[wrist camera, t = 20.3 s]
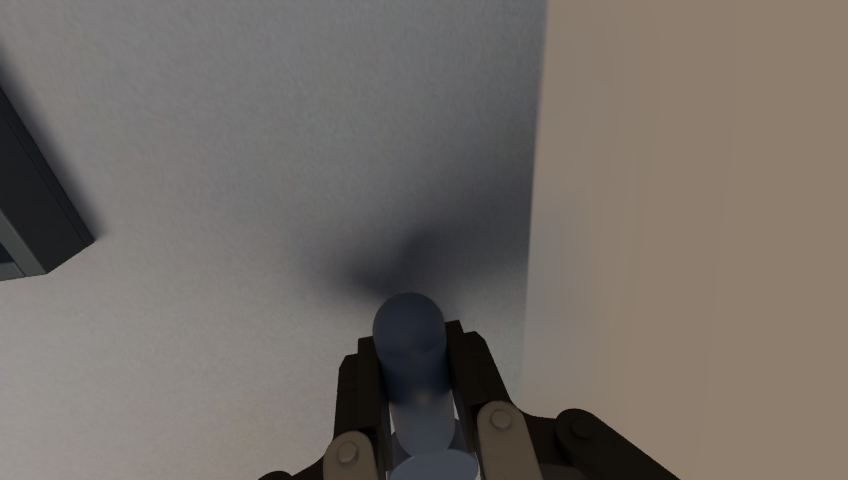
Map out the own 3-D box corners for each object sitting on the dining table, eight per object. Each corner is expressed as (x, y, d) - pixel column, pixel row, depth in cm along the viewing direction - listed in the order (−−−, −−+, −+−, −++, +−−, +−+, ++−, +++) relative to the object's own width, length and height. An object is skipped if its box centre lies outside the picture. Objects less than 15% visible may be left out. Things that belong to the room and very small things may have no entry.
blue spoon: (342, 289, 12) (337, 339, 10) (457, 269, 12) (477, 313, 10) (392, 475, 17) (396, 533, 15) (471, 458, 17) (485, 512, 15)
